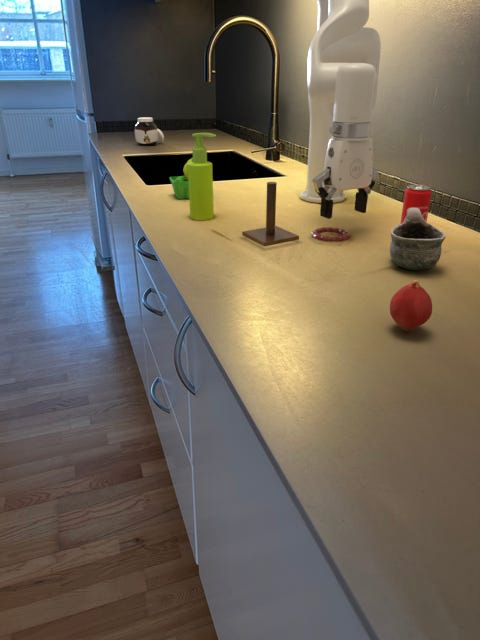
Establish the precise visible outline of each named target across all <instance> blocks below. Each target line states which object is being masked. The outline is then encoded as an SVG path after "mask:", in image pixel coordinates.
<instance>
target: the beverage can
mask: <svg viewBox="0 0 480 640" xmlns="http://www.w3.org/2000/svg"><path fill="white" fill-rule="evenodd" d="M431 189H432V187H431V186H429V185H425V184H408V185H407V186H406V189H405V190H404V195H403V204H402V209H401V210H402V211H401V217H400V224H402V223H403V222H404V220H405V218H406V212H407V209H409V208H418V209H420V212H421V215H422V217H423V219H424V220H425V221H426V222H427V223H428V216H429V210H430V203H431V197H432V190H431ZM400 224H399V225H400Z"/></svg>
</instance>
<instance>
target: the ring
mask: <svg viewBox="0 0 480 640" xmlns="http://www.w3.org/2000/svg"><path fill="white" fill-rule="evenodd" d="M323 233H335V234H338V236H328V235H322V234H323ZM310 236H311V237H312V238H313V239H315V240H317V241H322V242H328V243H340V242H345V241H348V240H350V239H351V234H350V232H349V231H348V230H346V229H343V228H340V227H332V226H324V227H319V228H316V229H314V230H312V231H311V232H310Z"/></svg>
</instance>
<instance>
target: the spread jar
mask: <svg viewBox="0 0 480 640" xmlns="http://www.w3.org/2000/svg"><path fill="white" fill-rule="evenodd" d="M134 138H135V142H136V144H138V145H139V146H141V147H153V146H155V145H156V144H162V143H163V142H164V141H165V135H164V133H163V131H162V130H161V129H159V128H158V126H157V125H156V123H155V122H154V118H153V117H150V116H148V117H147V116H146V117H145V116H144V117H138V118H137V123H136V124H135V126H134Z"/></svg>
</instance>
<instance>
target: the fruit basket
mask: <svg viewBox="0 0 480 640" xmlns="http://www.w3.org/2000/svg"><path fill="white" fill-rule="evenodd" d="M190 162H193V157H191V158H190V159H188V160H187V162H186V163H185V164H184V166H183V169H182V171H183V175H180V176H169V181H170V183H171V186H172V190H173V193H174V196H175V197H176V198H177V199H180V200H183V199H189V178H188V163H190Z"/></svg>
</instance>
